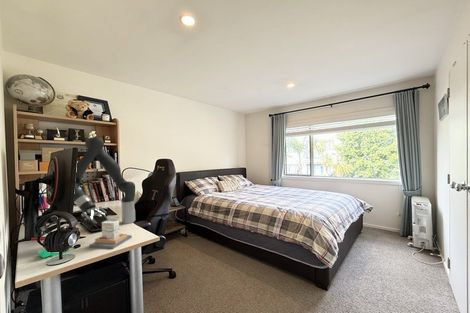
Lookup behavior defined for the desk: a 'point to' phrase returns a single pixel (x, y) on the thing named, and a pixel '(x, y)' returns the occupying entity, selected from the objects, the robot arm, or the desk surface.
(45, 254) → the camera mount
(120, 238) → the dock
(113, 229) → the ink cartridge box
